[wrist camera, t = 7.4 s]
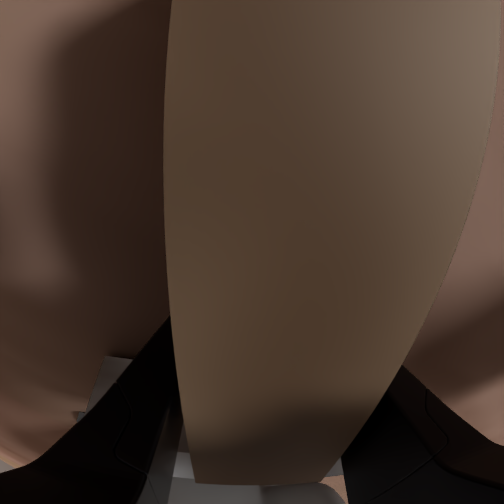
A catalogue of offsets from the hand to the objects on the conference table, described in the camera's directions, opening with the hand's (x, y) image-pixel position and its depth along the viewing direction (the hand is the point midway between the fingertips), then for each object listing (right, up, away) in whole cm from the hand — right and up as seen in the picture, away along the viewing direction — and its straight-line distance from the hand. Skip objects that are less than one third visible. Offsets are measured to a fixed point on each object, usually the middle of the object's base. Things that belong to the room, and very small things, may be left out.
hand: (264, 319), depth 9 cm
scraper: (0, +2, 0) cm, 2 cm away
